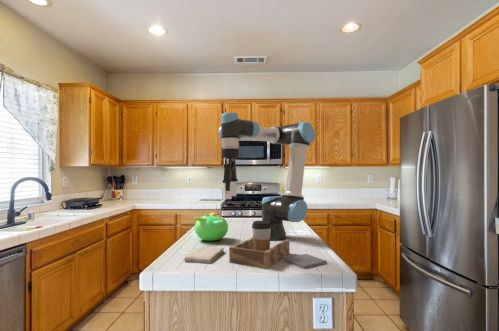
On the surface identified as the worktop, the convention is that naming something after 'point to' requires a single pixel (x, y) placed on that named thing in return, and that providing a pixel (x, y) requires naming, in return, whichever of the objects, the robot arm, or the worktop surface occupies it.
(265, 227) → the coffee cup
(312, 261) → the coaster
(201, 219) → the toy bird
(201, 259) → the washcloth
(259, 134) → the robot arm
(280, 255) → the u-shaped wooden frame
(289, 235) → the worktop surface
